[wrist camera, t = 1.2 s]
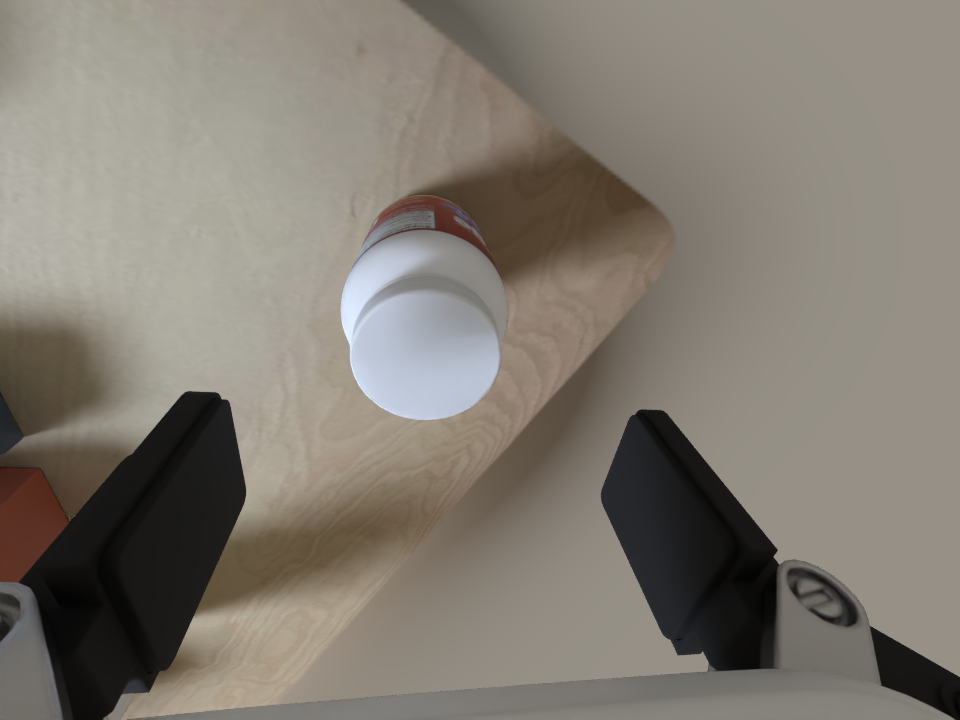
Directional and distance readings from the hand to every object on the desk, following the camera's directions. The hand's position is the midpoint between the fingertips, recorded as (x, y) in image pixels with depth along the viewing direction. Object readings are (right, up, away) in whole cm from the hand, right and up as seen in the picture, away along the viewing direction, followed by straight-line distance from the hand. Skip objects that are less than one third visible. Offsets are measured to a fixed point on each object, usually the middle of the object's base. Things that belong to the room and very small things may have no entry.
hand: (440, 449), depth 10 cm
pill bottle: (-2, +8, +12) cm, 15 cm away
